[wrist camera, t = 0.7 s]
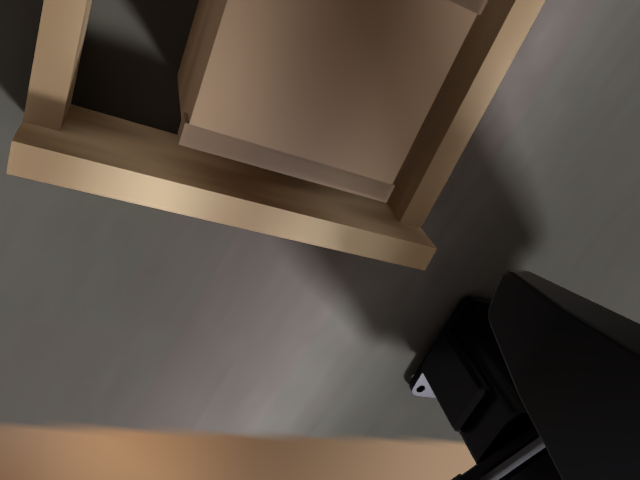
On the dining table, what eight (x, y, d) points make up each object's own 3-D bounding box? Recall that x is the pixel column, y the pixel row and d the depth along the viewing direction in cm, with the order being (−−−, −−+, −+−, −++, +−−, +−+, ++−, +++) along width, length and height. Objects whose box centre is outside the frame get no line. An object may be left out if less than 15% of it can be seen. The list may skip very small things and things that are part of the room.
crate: (405, -37, 19) (492, -9, 14) (334, 130, 21) (386, 203, 17) (230, -122, 16) (260, -125, 12) (173, 77, 19) (178, 144, 14)
